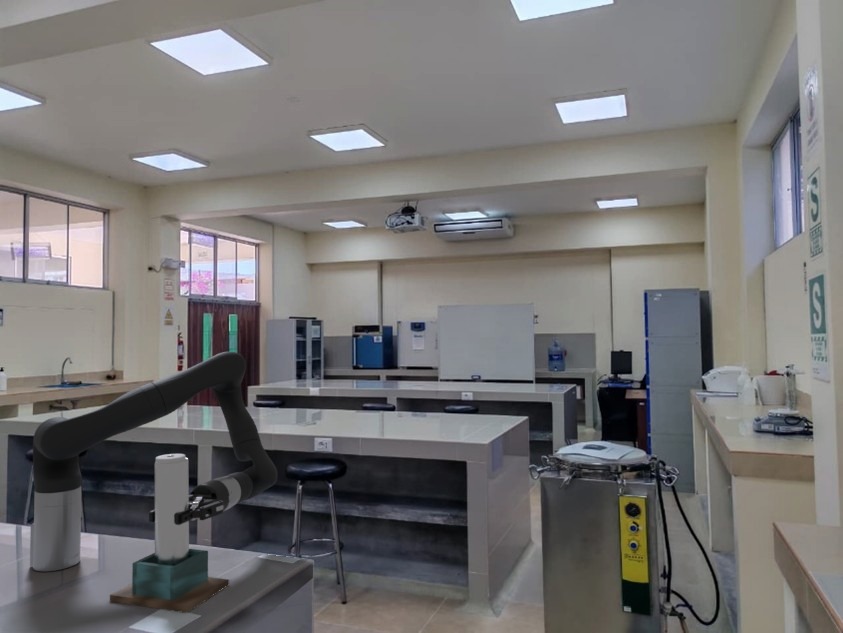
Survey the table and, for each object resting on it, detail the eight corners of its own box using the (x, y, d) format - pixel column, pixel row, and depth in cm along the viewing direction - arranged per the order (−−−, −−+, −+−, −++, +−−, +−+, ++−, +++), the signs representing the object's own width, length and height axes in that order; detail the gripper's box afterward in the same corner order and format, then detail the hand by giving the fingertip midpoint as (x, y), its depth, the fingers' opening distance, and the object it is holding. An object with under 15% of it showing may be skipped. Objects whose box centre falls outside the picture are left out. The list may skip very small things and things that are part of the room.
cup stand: (109, 601, 117) (110, 563, 117) (157, 575, 129) (157, 542, 129) (186, 612, 111) (187, 573, 112) (228, 585, 124) (228, 550, 124)
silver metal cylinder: (177, 587, 117) (176, 459, 117) (147, 585, 118) (147, 458, 119) (196, 574, 123) (195, 452, 124) (167, 572, 124) (167, 452, 125)
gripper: (189, 477, 137) (134, 497, 121) (243, 481, 133) (193, 502, 116) (189, 510, 137) (134, 534, 120) (243, 515, 132) (193, 540, 116)
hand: (163, 518), depth 119 cm, fingers closed on silver metal cylinder, 5 cm apart
